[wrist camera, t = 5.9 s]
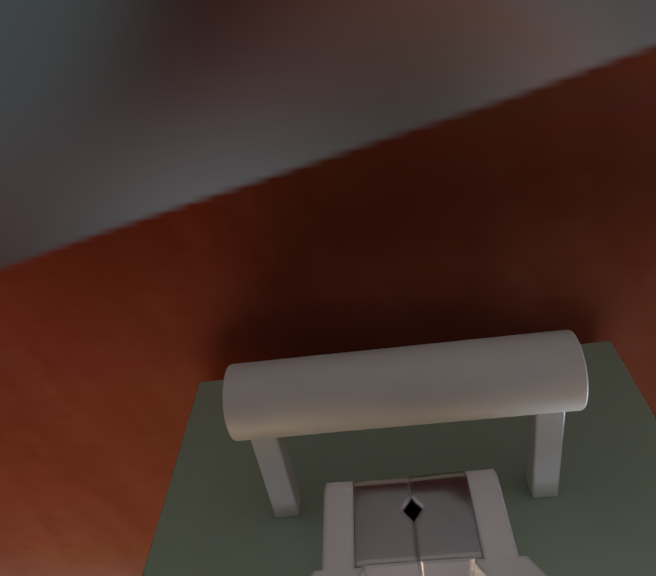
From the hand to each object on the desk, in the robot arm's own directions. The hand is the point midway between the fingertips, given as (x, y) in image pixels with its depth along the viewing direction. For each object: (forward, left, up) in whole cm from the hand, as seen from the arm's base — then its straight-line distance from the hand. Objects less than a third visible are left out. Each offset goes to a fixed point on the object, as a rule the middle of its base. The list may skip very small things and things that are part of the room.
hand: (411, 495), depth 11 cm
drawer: (+9, 0, -7) cm, 11 cm away
